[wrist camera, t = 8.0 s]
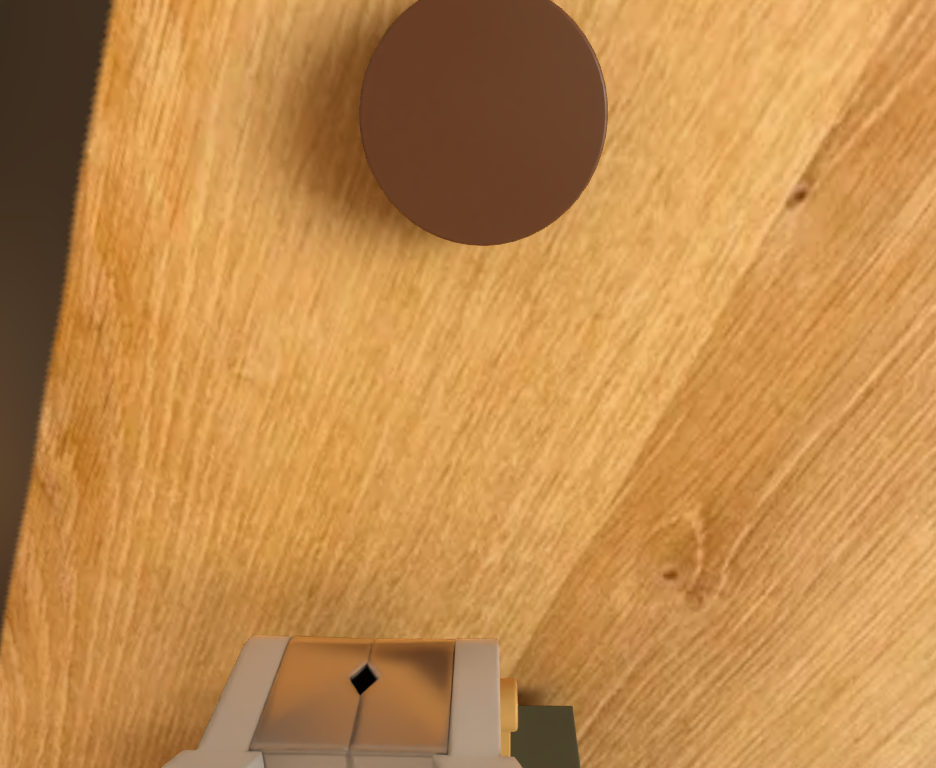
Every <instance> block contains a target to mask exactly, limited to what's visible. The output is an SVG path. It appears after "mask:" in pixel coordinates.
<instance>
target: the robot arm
mask: <svg viewBox="0 0 936 768" xmlns="http://www.w3.org/2000/svg"><path fill="white" fill-rule="evenodd" d="M161 768H522V766H521V765H520V764H519V762H518V761H517V760H516V758H515V757H505V756H501V724H500V663H499V643H498V641H497V639H457V640H456V639H366V638H342V637H317V636H294V637H290V636H269V635H252V636H251V637H250V638H249V639H248V640H247V641H246V643H245V644H244V645H243V647H242V649H241V652H240V654H239V656H238V658H237V660H236V663H235V665H234V667H233V669H232V672H231V674H230V676H229V678H228V680H227V683H226V685H225V687H224V689H223V691H222V694H221V696H220V698H219V700H218V703H217V705H216V707H215V709H214V711H213V714H212V716H211V718H210V720H209V723H208V725H207V727H206V729H205V731H204V734H203V736H202V738H201V740H200V743H199V745H198V747H197V749H196V750H182V751H181V752H180V753H178V754H177V755H176V756H175V757H173V758H172V759H171V760H170V761H168V762H167V763H166V764H165V765H163V766H162V767H161Z"/></svg>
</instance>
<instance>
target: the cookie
mask: <svg viewBox="0 0 936 768" xmlns="http://www.w3.org/2000/svg"><path fill="white" fill-rule="evenodd" d="M359 116H360V131H361V138H362V144H363V147H364V151H365V155H366V158H367V161H368V163H369V166H370V168H371V171H372V173H373V175H374V177H375V179H376V181H377V183H378V184H379V186H380V188H381V189H382V191H383V192H384V194H385V195H386V196H387V198H388V199H389V200H390V202H391V203H392V204H393V205H394V206H395V207H396V208H397V209H398V210H399V211H400V212H401V213H402V214H403V215H404V216H405V217H407V218H408V219H409V220H410V221H411V222H413V223H414V224H416V225H417V226H419V227H420V228H422V229H423V230H425V231H427V232H429V233H431V234H433V235H435V236H437V237H440V238H443V239H446V240H449V241H452V242H456V243H461V244H467V245H479V246H488V245H500V244H504V243H509V242H514V241H517V240H520V239H523V238H525V237H528V236H530V235H532V234H534V233H536V232H538V231H540V230H542V229H544V228H545V227H547V226H548V225H550V224H551V223H553V222H554V221H556V220H557V219H558V218H559V217H560V216H561V215H563V214H564V213H565V212H566V211H567V210H568V209H569V208H570V207H571V206H572V205H573V204H574V202H575V201H576V200H577V199H578V198H579V197H580V195H581V194H582V192H583V191H584V189H585V188H586V186H587V185H588V183H589V181H590V179H591V177H592V176H593V174H594V172H595V170H596V167H597V165H598V162H599V159H600V157H601V154H602V150H603V146H604V142H605V138H606V130H607V121H608V101H607V94H606V86H605V81H604V78H603V74H602V70H601V67H600V64H599V62H598V59H597V57H596V54H595V52H594V50H593V48H592V46H591V45H590V43H589V41H588V39H587V38H586V36H585V34H584V33H583V32H582V30H581V29H580V28H579V27H578V25H577V24H576V23H575V21H574V20H573V19H572V18H571V17H570V16H569V15H568V14H567V13H566V12H565V11H564V10H562V9H561V8H560V7H559V6H557V5H556V4H555V3H553V2H552V1H551V0H418V1H416V2H415V3H414V4H412V5H411V6H410V7H409V8H408V9H406V10H405V11H404V12H403V13H402V14H401V15H400V16H399V17H398V18H397V19H396V20H395V21H394V22H393V23H392V24H391V25H390V27H389V28H388V29H387V31H386V32H385V34H384V35H383V37H382V38H381V39H380V41H379V43H378V45H377V47H376V48H375V50H374V52H373V54H372V56H371V59H370V61H369V64H368V67H367V69H366V72H365V76H364V80H363V85H362V89H361V97H360V106H359Z"/></svg>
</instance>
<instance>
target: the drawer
mask: <svg viewBox="0 0 936 768" xmlns="http://www.w3.org/2000/svg"><path fill="white" fill-rule="evenodd" d="M500 724H501V756H505V757H515V758H516V760H517V761H518V762H519V764H520V765H521V766H522V768H580V761H579V753H578V746H577V738H576V730H575V722H574V715H573V707H572V706H522V705H518V695H517V682H516V680H515V679H500Z"/></svg>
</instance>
